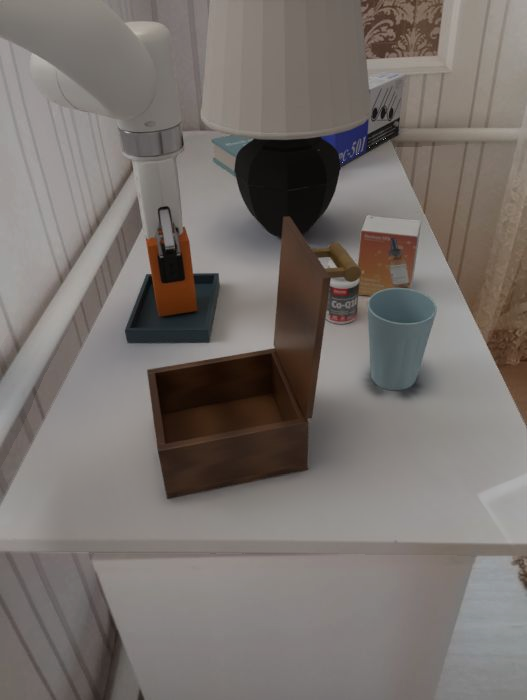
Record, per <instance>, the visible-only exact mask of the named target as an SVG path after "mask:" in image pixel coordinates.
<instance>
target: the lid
mask: <svg viewBox="0 0 527 700" xmlns="http://www.w3.org/2000/svg"><path fill="white" fill-rule="evenodd" d="M303 235H304V234H301V233H300V231H299V230H298V228H297V227H296V225H295V224H294V222H293V221H292V219H291V218H290V216H287V217H283V226H282V237H281V241H280V253H279V254H280V255H279V266H278V267H279V268H278V281H277V295H276V307H275V320H274V334H273V347H274V348H275V349H276V352H277V354H278V356H279V359H280V361H281V363H282V366H283V368H284V370H285V372H286V375H287V377H288V379H289V382H290V384H291V386H292V389H293V391H294V393H295V396H296V398H297V400H298V402H299V405H300V407H301V409H302V412H303V414H304V416H305V419H312V418H313V414H314V408H315V407H314V406H315V400H316V392H317V385H318V378H319V377H318V376H319V369H320V363H321V362H320V361H321V356H322V355H321V353H322V346H323V339H324V331H325V324H326V310H327V303H328V295H329V288H330V280H331V278H338V277H344V278H345V279H346V280H347V281H349V282H353V281H356V280H357V279H358V278H359V277H360V275H361V269H360V268H359V267H358V265H357V264H356V263H355V261H354V260H353V259H354V258H353V257H352V256H351V255H350V254H349V252H348V251H347V250H346V248H345V247H344V245H342V243H340V242H338V241H335V242H332V243H330V244H329V245H328V247H317V248H311V245H310V244H309V243H308V241H307V240H306V238H305V237H304V236H303ZM322 258H330V259H331V260H332V261H333V262H334V264H335V265H336V267H337V268H328V267H327V268H326V267H325V266H324V265H323V264H322V262H321V260H319V259H322ZM352 258H353V259H352Z"/></svg>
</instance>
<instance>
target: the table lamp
mask: <svg viewBox="0 0 527 700" xmlns="http://www.w3.org/2000/svg"><path fill="white" fill-rule="evenodd" d="M361 1H362V0H209V9H208V21H207V22H208V23H207V34H206V47H205V60H204V76H203V88H202V89H203V90H202V101H201V102H202V103H201V109H200V120H201V121H202V123H203V124H204V125H205V126H206V127H208V129H211V130H213V131H216V132H218V133H220V134H224V135H227V136H230V135H233V136H237V137H244V138H253V140H252V141H250V142H249V143H247V144H246V145H245V146H243V147H242V148H241V149H240V151H239V152H238V154H237V156H236V160H235V169H234V172H235V174H236V177H235V179H236V183H237V187H238V190H239V193H240V196H241V198H242V201H243V203H244V204H245V205H244V206H246V209H247V210H248V212H249V213H250V214H251V215H252V216H253V217H254V219H255V220H256V221H257V222H258V223H259V224H260V225H261V227H263V229H264V230H266V231H267V232H268V233H269V234H271V235H272V236H275V237H280V238H282V226H283V217H287V216H290V218H291V219H292V221H293V222H294V224H295V225H296V227H297V228H298V230H299V231H300V233H301V234H302V235H305V234H306V233H307V232H308V231H309V230H310V229H311V228H312V227H313V226H314V225H315V224H316V223H317V222H318V221H319V219H320V218H321V217H322V216H323V215H324V214H325V212H326V211H327V209H328V207H329V206H330V204H331V203H332V200H333V197H334V196H335V192H336V189H337V186H338V182H339V176H340V172H341V170H342V168H341V167H342V166H340V159H339V155H338V152H337V150H336V149H335V148H334V147H333V146H332V145H331V144H330V143H328V142H327V141H325V140H324V139H322V138H321V136H328V135H333V134H337V133H341V132H344V131H348V130H351V129H353V128H356V127H358V126H360V125H362V124H364V123H365V122H366V121H367V120H368V119H369V118H370V116H371V115H372V105H371V99H370V91H369V82H368V77H369V73H368V60H367V51H366V41H365V30H364V23H363V13H362V2H361Z"/></svg>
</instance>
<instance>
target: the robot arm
mask: <svg viewBox="0 0 527 700" xmlns="http://www.w3.org/2000/svg"><path fill="white" fill-rule="evenodd" d="M172 37H173V36H172V34H171V32H170V30H169V28H168V27H167V26H166V25H164V24H163V23H161V22H158V21H151V20H150V21H149V20H139V21H137V20H135V21H126V22H124V20H123V19H122V18H121V17H120V16H118V14H117V13H116V12H115V11H114V10H113V9H112V8H111V7H110V6H109V5H108V4H107V3H106V2H104V0H0V39H3V40H6V41H8V42H10V43H12V44H15V45H17V46H18V47H20V48H23V49H24V50H26V51H28V52H30V53H31V55H30V57H29V59H30V60H29V72H30V77H31V79H32V81H33V84H34V86H35V87H36V89H37V90H38V91H39V93H40V94H41V95H43V97H45V98H46V99H47V100H49V101H50V102H52V103H53V104H56V105H58V106H61V107H64V108H67V109H71V110H76V111H80V112H85V113H91V114H95V115H100V116H103V117H106V118H111V119H113V120H116V124H117V129H118V136H119V140H120V141H119V142H120V146H121V153H122V156H123V157H124V158H126V159H127V160H131V162H132V170H133V177H134V185H135V190H136V196H137V201H138V208H139V213H140V214H139V215H140V219H141V225H142V230H143V235H144V237H146V238H147V239H149V240H150V238H155V236H156V239H157V245H158V251H159V255H158V256H157V258H158V264H159V270H160V277H161V282H162V283H171V282H178V281H183V280H185V274H184V266H183V258H182V252H180V247H179V240H178V235H181V234H182V232H183V227H184V226H183V211H182V210H183V209H182V198H181V189H180V180H179V172H178V164H177V163H178V162H177V157H178V156H179V155H181V154H183V153H184V151H185V140H184V133H183V131H184V130H183V122H182V115H181V107H180V106H181V105H180V104H181V103H180V97H179V88H178V79H177V70H176V61H175V52H174V44H173V38H172ZM172 228H173V229H174V231H173V232H172ZM158 230H162V233H159V232H158ZM146 238H145V239H146ZM161 239H164V244H161Z"/></svg>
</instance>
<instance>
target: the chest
mask: <svg viewBox="0 0 527 700" xmlns="http://www.w3.org/2000/svg"><path fill="white" fill-rule="evenodd" d="M146 373H147V380H148V381H147V382H148V388H149V396H150V403H151V410H152V417H153V425H154V433H155V439H156V440H155V441H156V447H157V454H158V459H159V464H160V465H159V466H160V470H161V474H162V479H163V485H164V489H165V494H166V498H167V499H173V498H177V497H183V496H187V495H192V494H196V493H203V492H207V491H211V490H215V489H220V488H226V487H231V486H236V485H241V484H245V483H250V482H254V481H260V480H264V479H265V480H266V479H269V478H274V477H278V476H283V475H289V474H293V473H298V472H299V473H300V472H304V471H307V470H309V431H310V430H309V428H310V427H309V426H310V425H309V420H308V419H305V416H304V414H303V412H302V409H301V407H300V405H299V402H298V400H297V398H296V396H295V393H294V391H293V389H292V386H291V384H290V382H289V379H288V377H287V375H286V372H285V370H284V368H283V366H282V363H281V361H280V359H279V356H278V354H277V352H276V349H275V347H274V348H268V349H261V350H256V351H250V352H245V353H239V354H233V355H226V356H220V357H214V358H209V359H203V360H196V361H192V362H184V363H180V364H173V365H168V366H161V367H156V368H151V369H150V368H149V369H146Z"/></svg>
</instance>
